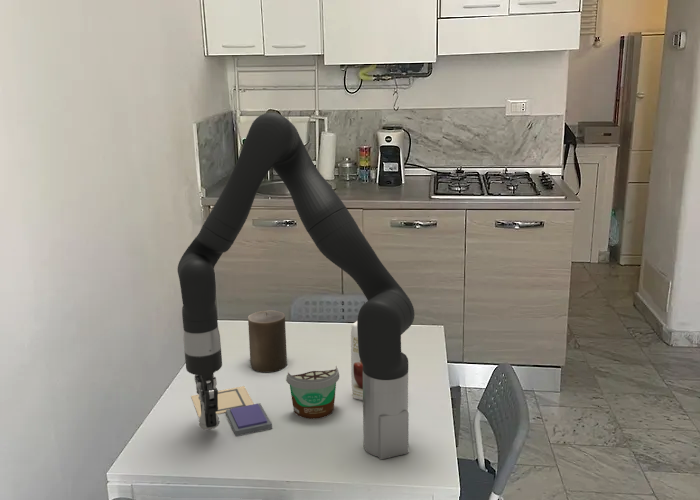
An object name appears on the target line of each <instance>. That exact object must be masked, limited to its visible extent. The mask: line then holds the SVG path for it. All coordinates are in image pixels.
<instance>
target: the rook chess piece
mask: <svg viewBox="0 0 700 500" xmlns="http://www.w3.org/2000/svg"><path fill="white" fill-rule="evenodd" d="M198 395H199V394H198ZM203 397H205V395H203ZM199 398H200V395H199ZM201 404H202V414H201V416H200V418H199V417H198V418H199V419H198V422H199V423H198V426H199V428H201V429H202V430H206V431H210V430H213V429H216V428H217V427H218V426H219V425H220V423H221V421H220V417H219V414H217V413H216V422H217V425H216V426H214V427H209V428H207V427H206V423H205V412H204V410H203V409H204V406H203V402H202V401H201ZM209 406H210V405H209Z"/></svg>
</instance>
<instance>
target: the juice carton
mask: <svg viewBox="0 0 700 500" xmlns="http://www.w3.org/2000/svg"><path fill="white" fill-rule="evenodd" d="M350 363H351V364H350V365H351V366H350V367H351V368H350V369H351V371H350V372H351V373H350V375H351V389H352V390H351V391H352V398H354V399H356V400H360V401H363V364H362V362H361V360H360V357H359V350H358V332H357V320H356V321H355V322H353V323H352V324H351V330H350Z"/></svg>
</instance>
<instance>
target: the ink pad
mask: <svg viewBox="0 0 700 500" xmlns="http://www.w3.org/2000/svg"><path fill="white" fill-rule="evenodd" d="M225 416H226V417H227V420H228V422H229V424H230V427H231V428H232V430H233V432H234V435H235V437H239V436H244V435H248V434H252V433H254V434H255V433H258V432H261V431H267V430H271V429H273V424H272V421H271V420H270V418H269V416H268V414H267V413H266V411H265V409H264V408H263V406H262V404H261V403H254V404H253V405H248V406H243V407H237V408H232V409H229V410H226V413H225Z"/></svg>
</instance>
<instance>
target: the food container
mask: <svg viewBox="0 0 700 500" xmlns="http://www.w3.org/2000/svg"><path fill="white" fill-rule="evenodd" d="M339 380H340V372H339V369H338V367H337V365H336V366H335V369H330V370H312V371H307V372H304V373H299V374H292V375H291V374H290V372H289V371H288V372H287V374H286V378H285V381H286V383H288V385H289V389H290V394H291V395H290V397H291V401H292V409H293V412H294V414H295V415H296V416H298V417H300V418H303V419H307V420H319V419H323V418H326V417H328V416H330V415H331V414H333V412H334V410H335V399H336V391H337V390H336V389H337V387H336V386H337V382H338V381H339Z"/></svg>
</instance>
